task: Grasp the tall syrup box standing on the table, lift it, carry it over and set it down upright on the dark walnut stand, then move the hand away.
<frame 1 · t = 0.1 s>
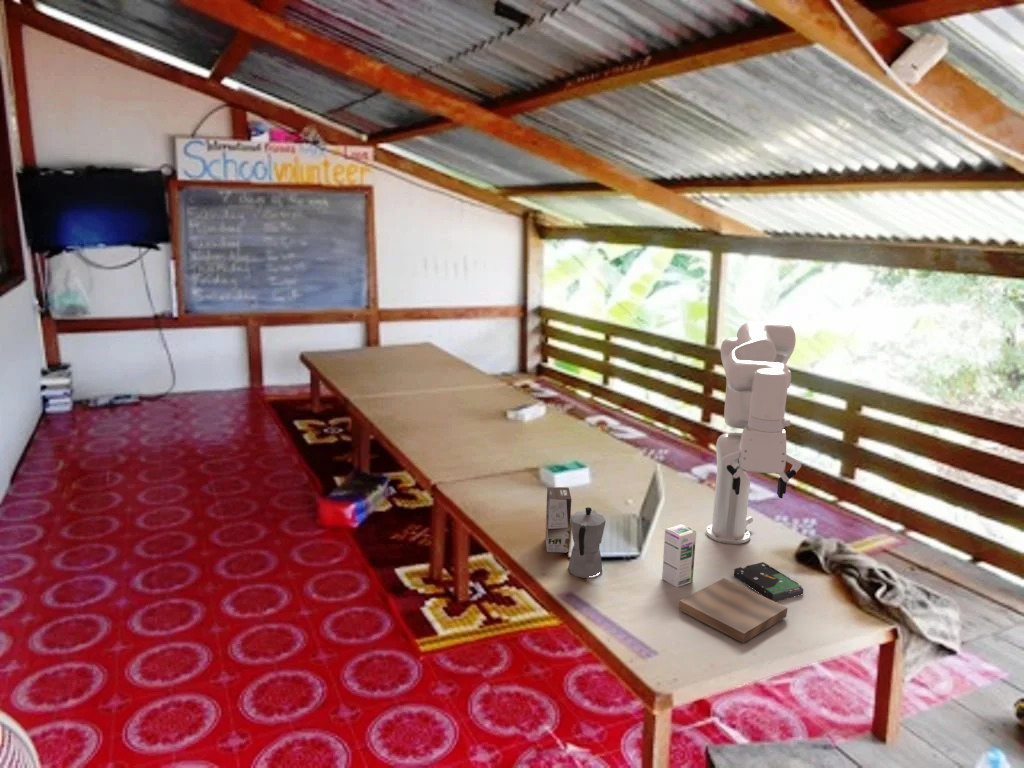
hand: (758, 494, 179), 31 cm above the table, tool pointing down, fingers open, 9 cm apart
disk drive: (767, 587, 201), on the table
coffee box: (556, 546, 220), on the table
walnut stand: (732, 615, 186), on the table
syrup box: (676, 581, 202), on the table
coffeepot: (584, 572, 205), on the table
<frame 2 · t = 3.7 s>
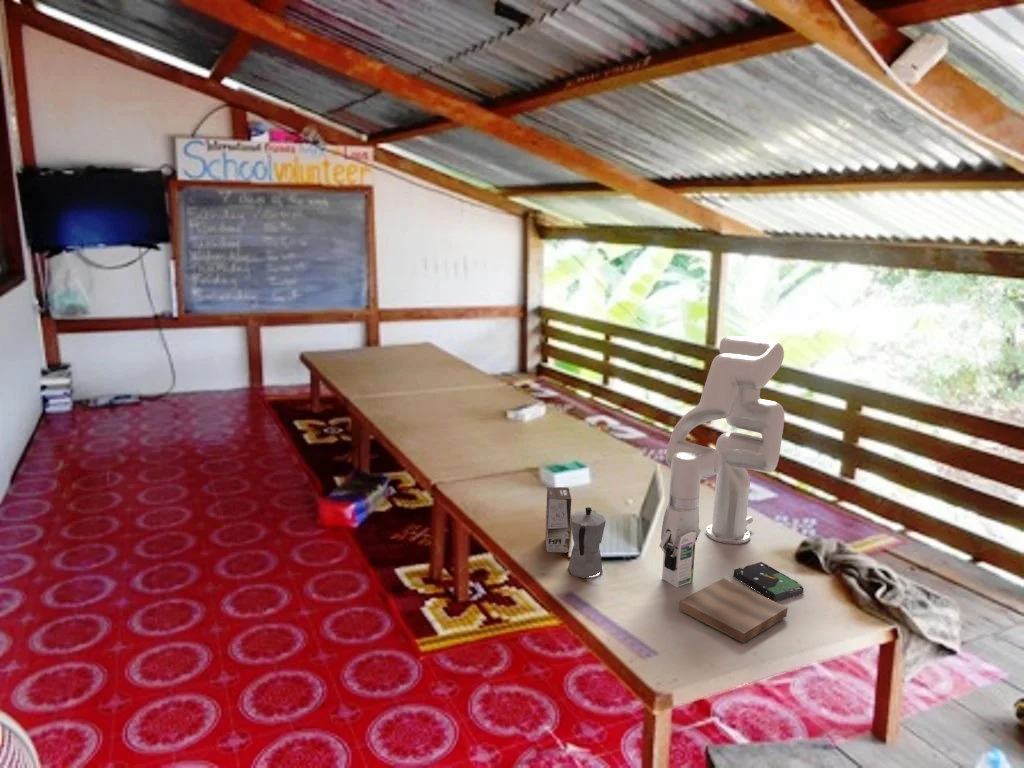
hand: (678, 564, 201), 5 cm above the table, tool pointing down, fingers closed on syrup box, 6 cm apart
syrup box: (676, 581, 202), on the table, touching gripper
everything else where it was.
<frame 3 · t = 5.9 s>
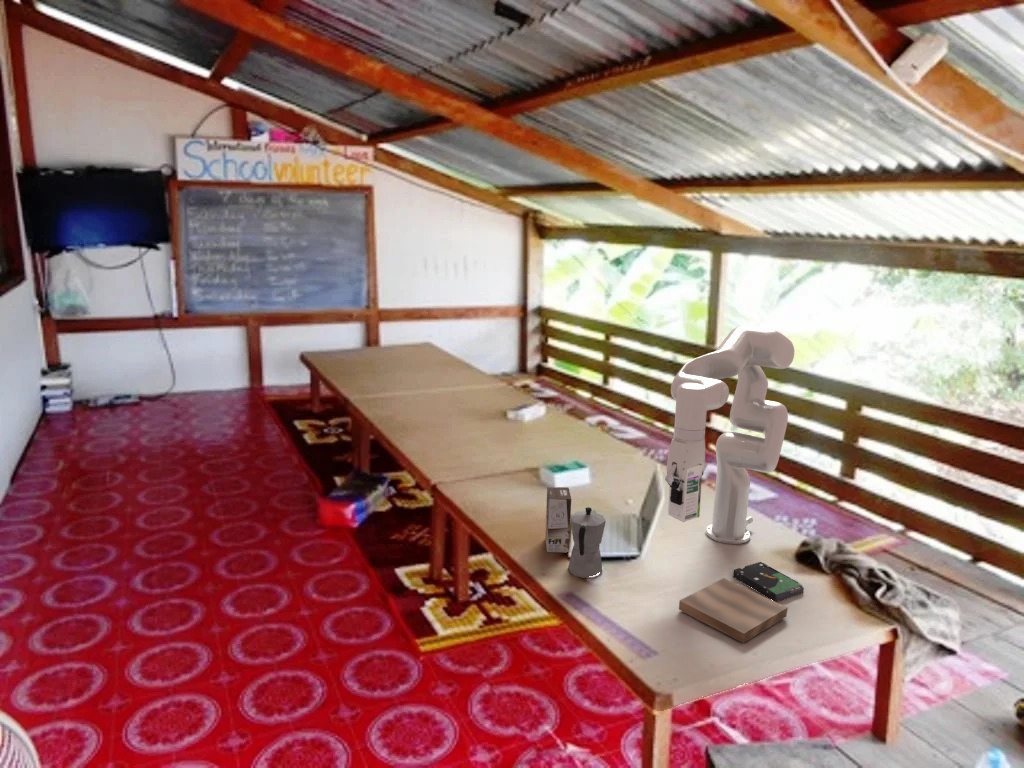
hand: (684, 499, 197), 23 cm above the table, tool pointing down, fingers closed on syrup box, 6 cm apart
syrup box: (683, 516, 198), point 18 cm above the table, touching gripper
everything else where it was.
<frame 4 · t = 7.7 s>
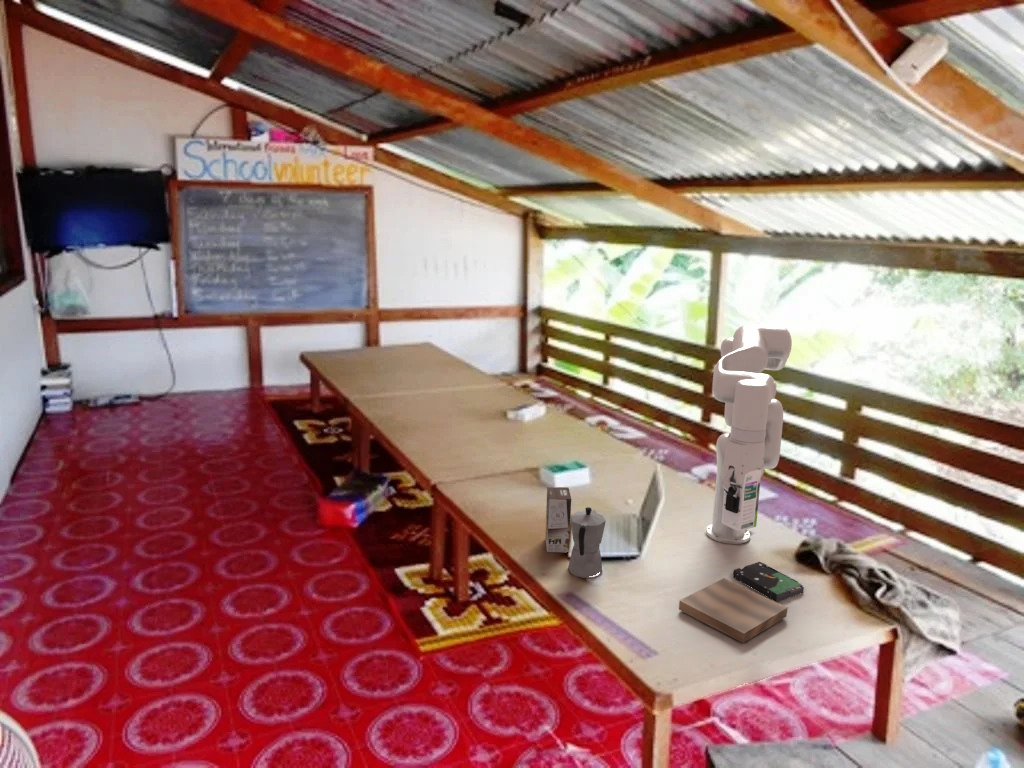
hand: (740, 507, 180), 28 cm above the table, tool pointing down, fingers closed on syrup box, 6 cm apart
syrup box: (738, 526, 181), point 23 cm above the table, touching gripper
everything else where it was.
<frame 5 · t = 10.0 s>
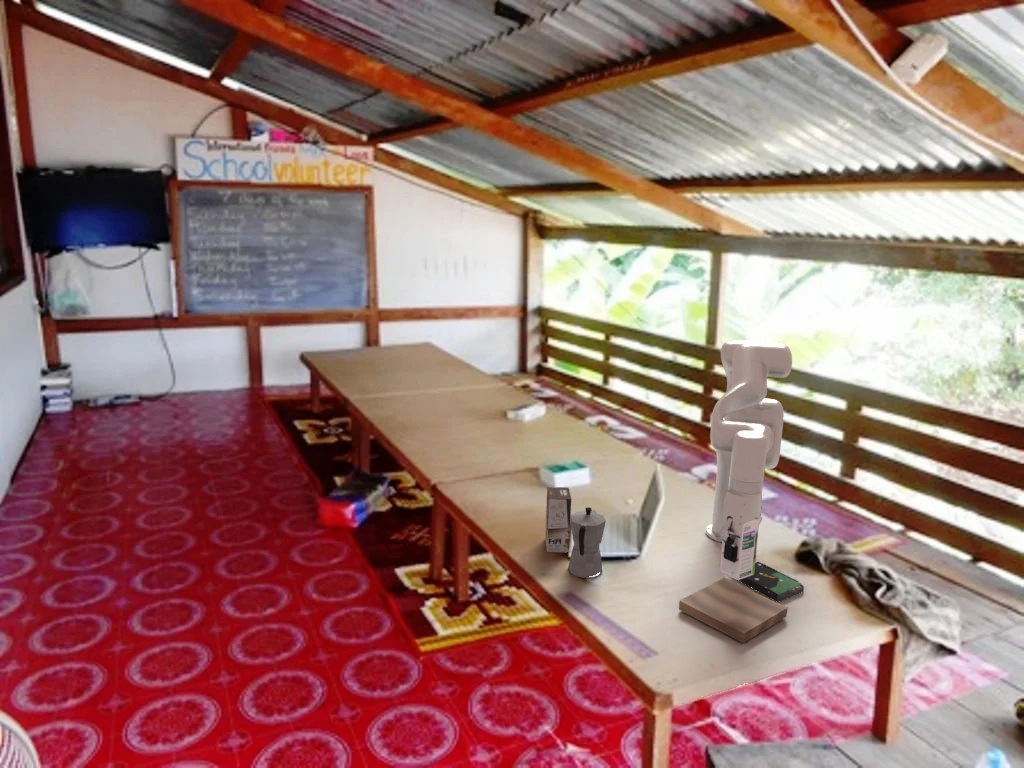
hand: (738, 555, 182), 16 cm above the table, tool pointing down, fingers closed on syrup box, 6 cm apart
syrup box: (736, 573, 183), point 11 cm above the table, touching gripper
everything else where it was.
when the fingers open (9 cm above the table, at t = 11.8 s): syrup box drops 2 cm, resting on walnut stand.
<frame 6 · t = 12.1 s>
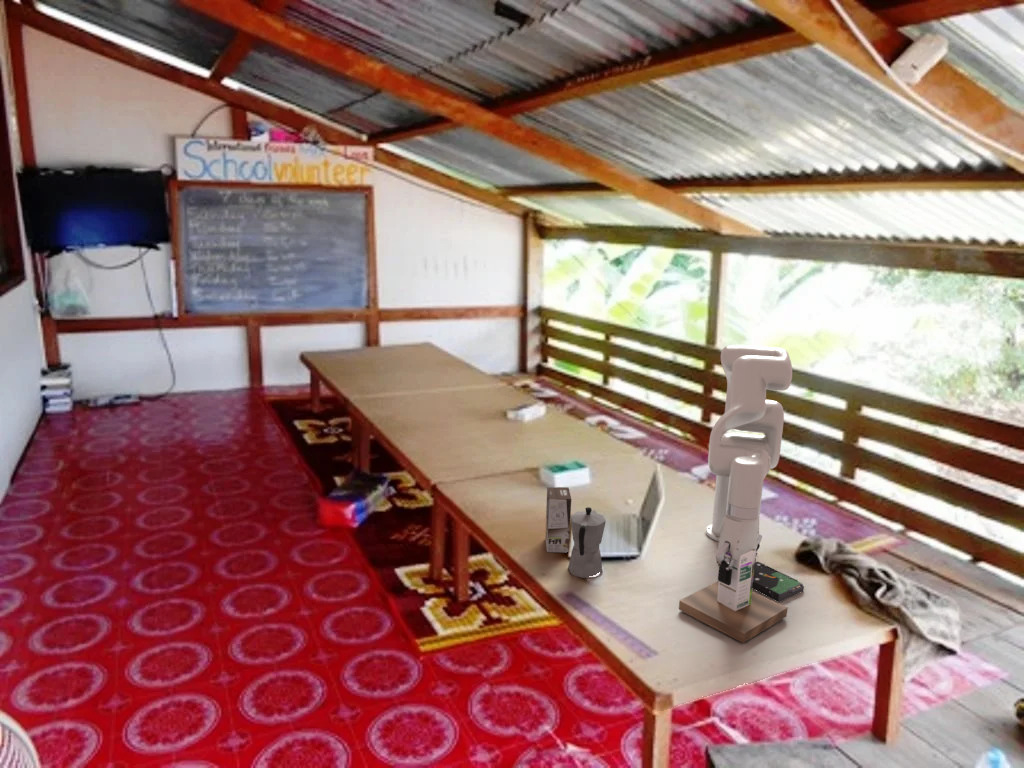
hand: (736, 576, 184), 10 cm above the table, tool pointing down, fingers open, 9 cm apart
syrup box: (733, 604, 186), point 3 cm above the table, touching walnut stand
everything else where it was.
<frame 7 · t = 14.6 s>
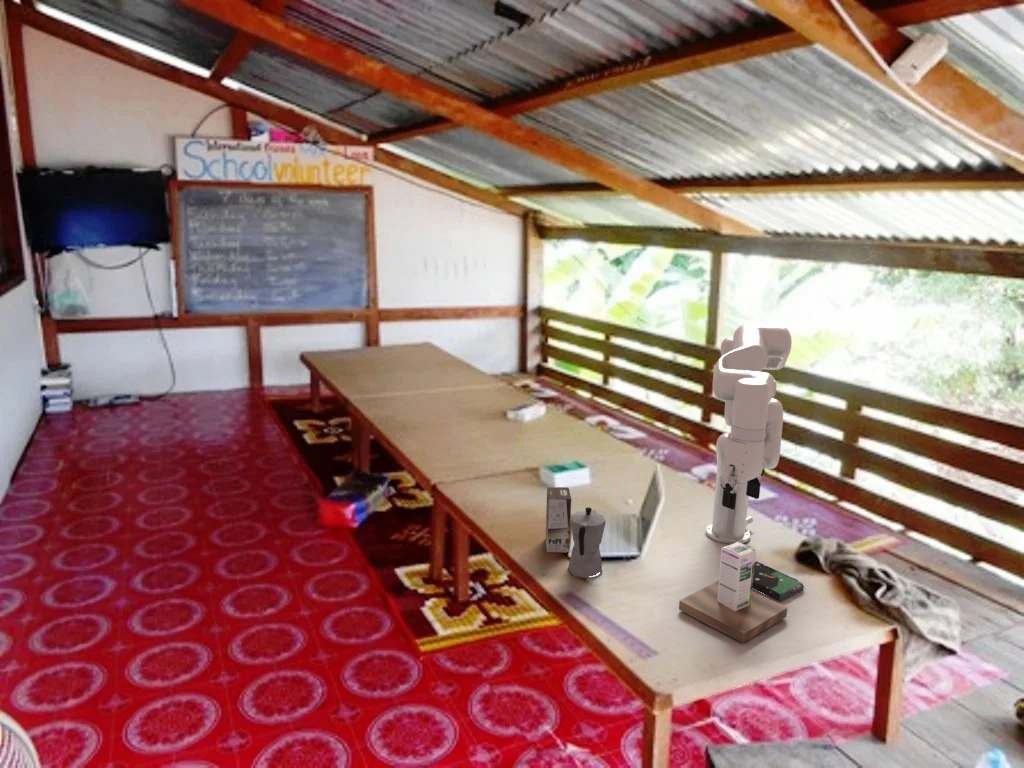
hand: (740, 502, 181), 29 cm above the table, tool pointing down, fingers open, 9 cm apart
nothing on the table moved.
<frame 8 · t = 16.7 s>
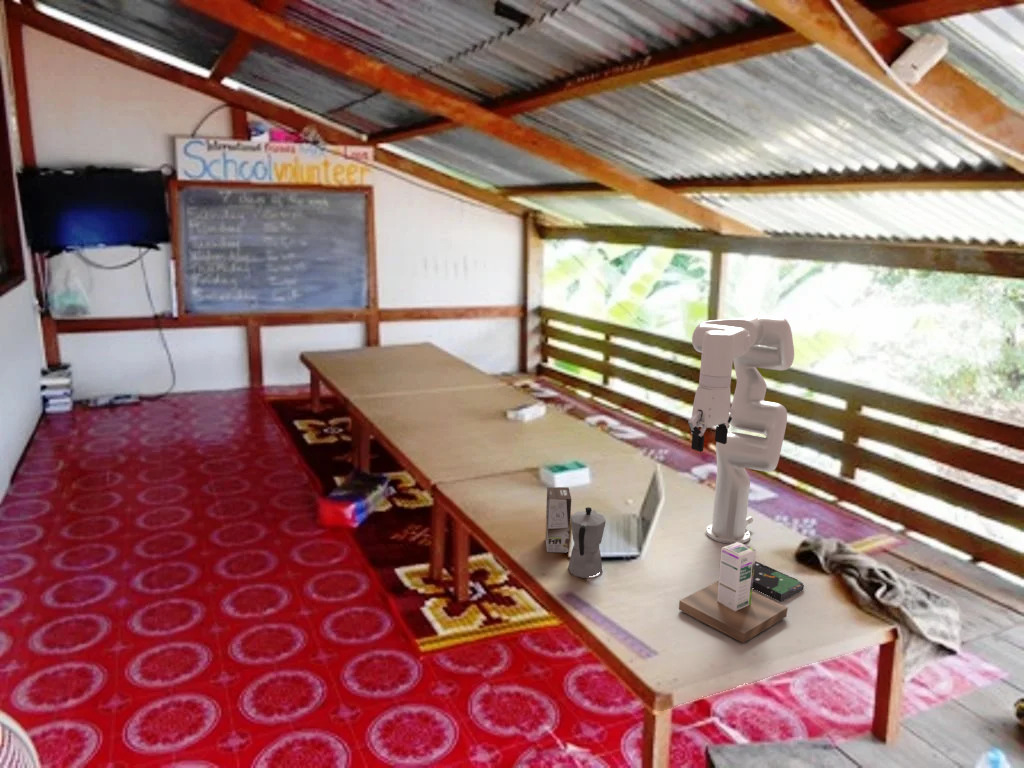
hand: (709, 446, 195), 36 cm above the table, tool pointing down, fingers open, 9 cm apart
nothing on the table moved.
at the end: syrup box inside the target area on the walnut stand (0.4 cm from its centre), point 2.8 cm above the walnut stand's base; syrup box tilted 0°; the gripper is holding nothing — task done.
